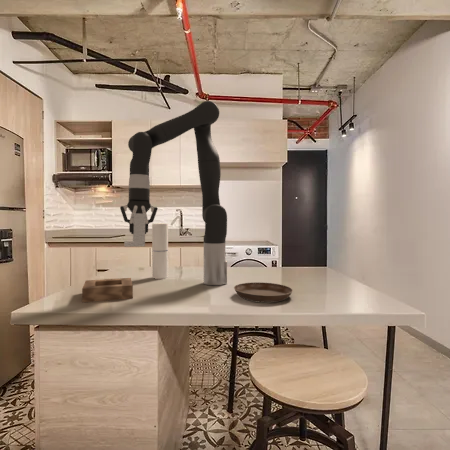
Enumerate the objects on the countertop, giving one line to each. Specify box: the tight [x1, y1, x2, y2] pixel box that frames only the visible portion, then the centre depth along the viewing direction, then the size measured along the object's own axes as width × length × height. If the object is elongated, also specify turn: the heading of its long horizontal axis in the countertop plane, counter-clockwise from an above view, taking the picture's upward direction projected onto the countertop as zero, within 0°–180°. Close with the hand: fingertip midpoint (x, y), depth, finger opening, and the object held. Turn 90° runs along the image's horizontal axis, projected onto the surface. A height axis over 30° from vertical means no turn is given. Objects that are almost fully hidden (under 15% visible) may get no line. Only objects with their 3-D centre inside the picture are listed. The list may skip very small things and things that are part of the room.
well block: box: [81, 277, 134, 303], centre depth 113 cm, size 16×14×4 cm
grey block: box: [123, 213, 146, 248], centre depth 117 cm, size 7×6×12 cm
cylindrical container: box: [151, 222, 169, 280], centre depth 146 cm, size 7×7×25 cm
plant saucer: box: [233, 282, 294, 303], centre depth 112 cm, size 21×21×3 cm
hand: (138, 233), depth 118 cm, fingers closed on grey block, 4 cm apart
